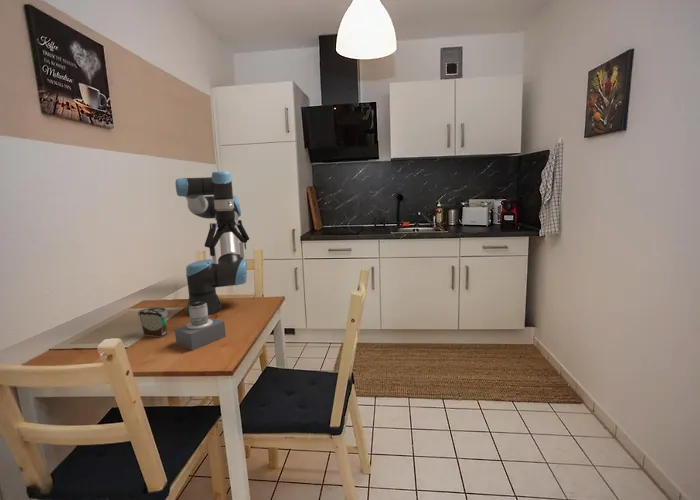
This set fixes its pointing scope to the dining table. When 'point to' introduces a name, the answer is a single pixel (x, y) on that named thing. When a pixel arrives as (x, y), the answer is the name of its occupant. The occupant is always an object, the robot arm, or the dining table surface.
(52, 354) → the dining table surface
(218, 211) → the robot arm
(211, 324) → the grey block with dome
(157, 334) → the food container
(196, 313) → the camera lens
